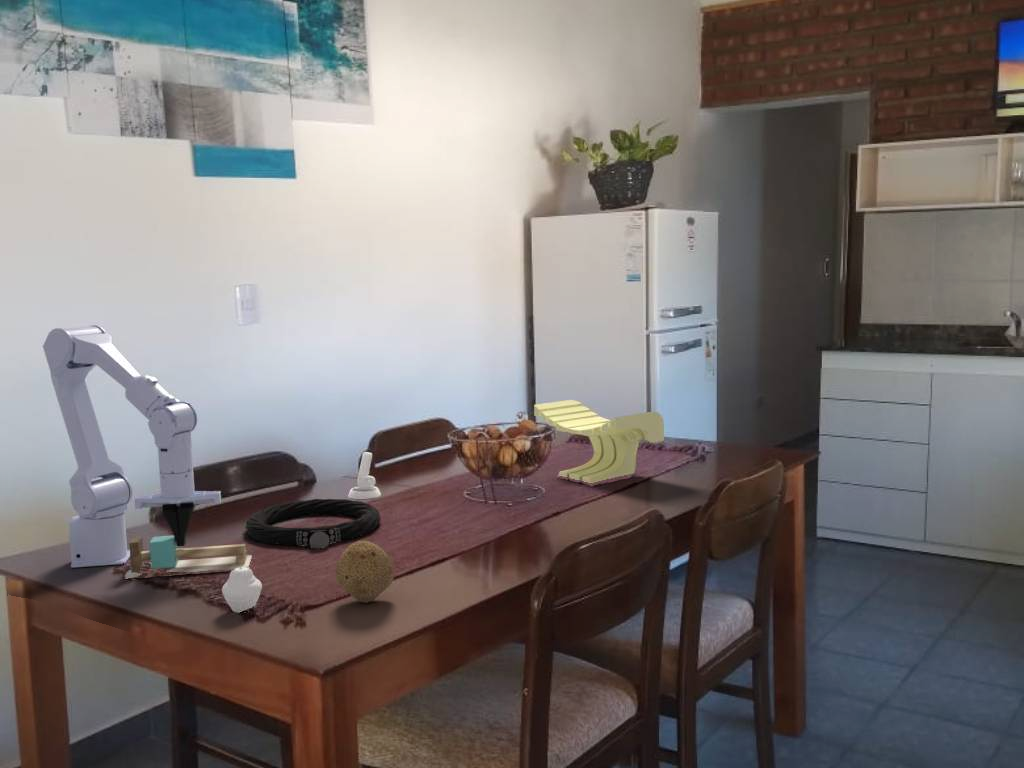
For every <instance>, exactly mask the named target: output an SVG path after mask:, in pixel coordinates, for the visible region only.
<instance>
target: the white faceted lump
mask: <svg viewBox="0 0 1024 768" xmlns="http://www.w3.org/2000/svg"><path fill="white" fill-rule="evenodd" d="M256 577H257V576H255V575H254V572H253V570H252V569H251V568H250V567H249V568H247V567H239V568H236V569H234V570H232V571H231V572H229V577H228V579H227V581H225V583H224V584H223V586H222V588H221V593H222V595H223V596H224V599H225V601H226V602H227V604H228V606H229V607H230V608H231V610H232V611H233V612H234V613H237V614H241V613H240V612H242V611H244V610H247V609H249V608H252V607H253V606H255V607H256V605H257V602H258V601H259V598H260V595H261V591H262V589H263V585H262V582H261V581H260V580H259V579H258V578H256Z"/></svg>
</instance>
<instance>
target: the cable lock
mask: <svg viewBox="0 0 1024 768" xmlns="http://www.w3.org/2000/svg"><path fill="white" fill-rule="evenodd" d="M324 514H328V515H337V514H341V515H340V516H346V515H349V516H351V515H353V516H352V517H354V516H356V517H355V518H357V517H358V518H357V519H354V520H350V521H345V522H341V523H339V524H331V525H322V526H316V527H285V526H284V527H283V526H276V525H275V526H274V525H272V524H273V523H275V522H279V521H284V520H288V519H292V518H298V517H308V516H315V515H317V516H318V515H319V516H320V515H321V516H323V515H324ZM324 516H325V515H324ZM380 521H381V514H380V512H379V509H377V508H376V507H374V506H373V505H371V504H370V503H366V502H364V501H360V500H351V499H344V498H343V499H342V498H335V499H334V498H327V499H322V498H313V499H309V500H304V499H303V500H295V501H290V502H286V503H281V504H280V503H279V504H274V505H272V506H271V505H270V506H269V507H266V508H262V509H259V510H258V511H257V512H254V513H252V514H251V515H250V517H249V518H248V519H246V525H245V527H244V529H245V530H247V531H246V533H247V534H248V535H249V536H250V537H251V538H252V539H253V540H256V541H259V540H261V541H264V542H267V543H266V544H271V543H273V544H272V545H277V543H278V544H285V545H284V546H297V545H300V546H302V545H304V546H303V547H305V546H308V545H309V544H310V545H309V546H308V547H312V548H311V549H313V548H322V547H326V548H327V546H330V544H329V543H334V542H337V541H338V542H339V541H340V540H343V541H346V540H345V539H347V540H350V539H349V538H352V537H356V536H360V535H363V534H364V535H366V534H367V533H368V534H369V533H370V532H369V531H371V530H372V531H373V530H375V528H377V527H378V526H379V524H380ZM372 531H371V532H372ZM364 535H363V536H364ZM360 537H361V536H360ZM356 538H357V537H356ZM352 539H353V538H352ZM261 541H260V542H261ZM264 542H263V543H264ZM340 542H341V541H340ZM340 542H339V543H340ZM334 544H335V543H334ZM300 546H299V547H300Z"/></svg>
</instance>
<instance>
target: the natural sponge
mask: <svg viewBox="0 0 1024 768" xmlns="http://www.w3.org/2000/svg"><path fill="white" fill-rule="evenodd" d="M335 578H336V580H337V582H338V584H339V585H340V586H341V588H342V589H343V590H344V591H346V592H347V594H349V595H350V596H351V597H352V598H353V599H356V601H359V602H361V603H363V604H364V603H365V604H366V603H367V604H368V603H371V602H373V601H375V600H376V599H377V598H378V597H379V596H380V594H382V592H384V591H386V590H387V589H389V587H390V586H391V585H392V582H393V580H394V568H393V565H392V563H391V560H390V558H389V556H388V555H387V553H386V552H385V550H384V549H383V548H382V547H380V546H379V545H378V544H375V543H373V542H372V541H371V542H370V541H368V540H358V541H356V542H353V543H352V544H350V545H349V546H347V547H346V548H345V549H344V551H343V552H342V553H341V555H340V557H339V560H338V563H337V565H336V568H335Z"/></svg>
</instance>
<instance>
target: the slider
mask: <svg viewBox="0 0 1024 768" xmlns="http://www.w3.org/2000/svg"><path fill="white" fill-rule="evenodd" d="M175 549H179V546H177V545H176V541H175V537H174V535H160V536H153V537H152V538H151V539H150V542H149V551H150V555H151V560H150V563H151V568H152V569H155V568H169V567H175V566H176V564H177V562H178V560H179V558H177V559H175Z"/></svg>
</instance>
